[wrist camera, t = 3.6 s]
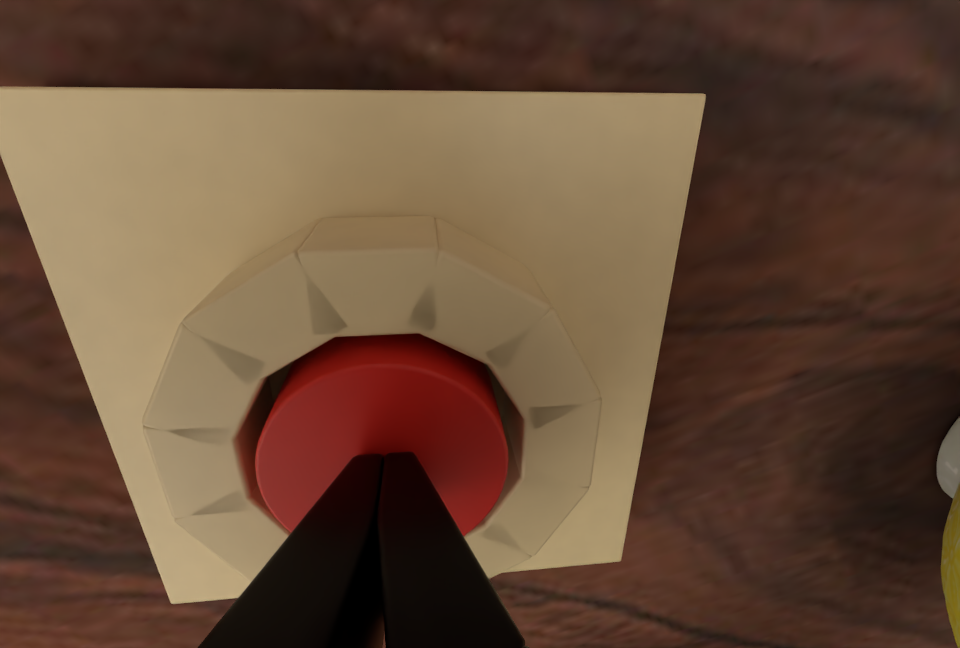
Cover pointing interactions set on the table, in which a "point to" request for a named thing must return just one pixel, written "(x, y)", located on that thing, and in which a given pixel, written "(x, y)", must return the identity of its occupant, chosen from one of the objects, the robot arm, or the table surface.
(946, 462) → the bowl
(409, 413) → the button
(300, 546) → the robot arm
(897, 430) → the table surface
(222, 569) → the button box
